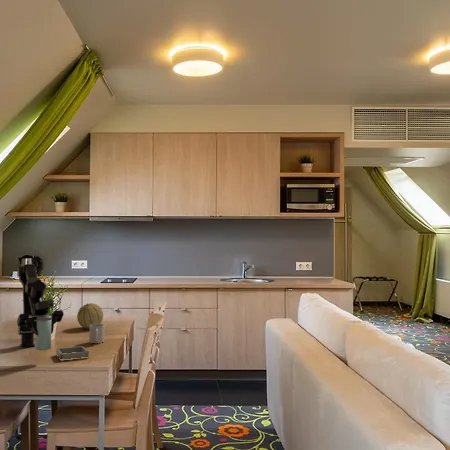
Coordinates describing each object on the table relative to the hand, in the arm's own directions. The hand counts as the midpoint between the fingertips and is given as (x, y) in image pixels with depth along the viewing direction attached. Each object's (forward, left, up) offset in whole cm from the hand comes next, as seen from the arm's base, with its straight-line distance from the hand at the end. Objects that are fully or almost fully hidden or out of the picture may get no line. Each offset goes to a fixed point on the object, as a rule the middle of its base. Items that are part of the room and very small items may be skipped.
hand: (44, 333), depth 209 cm
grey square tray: (-6, +13, -13) cm, 19 cm away
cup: (-28, +29, -13) cm, 42 cm away
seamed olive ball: (-66, +34, -13) cm, 75 cm away
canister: (-1, 0, -7) cm, 7 cm away
